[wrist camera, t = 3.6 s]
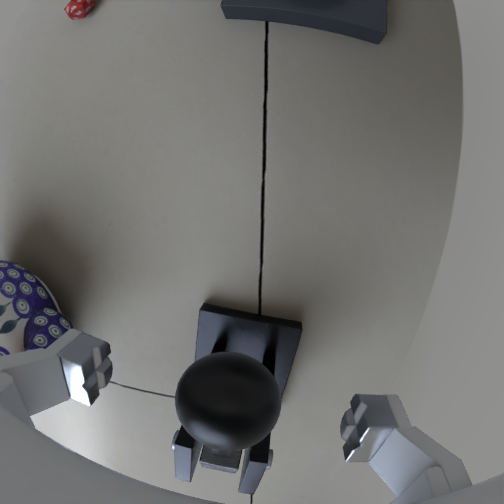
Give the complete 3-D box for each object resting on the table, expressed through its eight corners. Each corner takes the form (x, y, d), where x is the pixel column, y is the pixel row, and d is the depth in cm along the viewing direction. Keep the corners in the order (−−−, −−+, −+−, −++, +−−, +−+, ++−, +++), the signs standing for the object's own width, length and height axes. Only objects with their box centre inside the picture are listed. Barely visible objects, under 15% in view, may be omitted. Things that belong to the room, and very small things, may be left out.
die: (72, 16, 17) (56, 6, 14) (94, -4, 16) (79, -15, 13) (80, 28, 18) (63, 18, 15) (103, 7, 17) (87, -5, 14)
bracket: (203, 302, 23) (143, 402, 12) (301, 321, 22) (312, 437, 11) (195, 391, 26) (156, 487, 14) (275, 407, 25) (268, 511, 14)
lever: (188, 321, 8) (152, 420, 6) (296, 342, 8) (284, 449, 6) (203, 428, 17) (192, 469, 14) (250, 438, 16) (242, 480, 14)
